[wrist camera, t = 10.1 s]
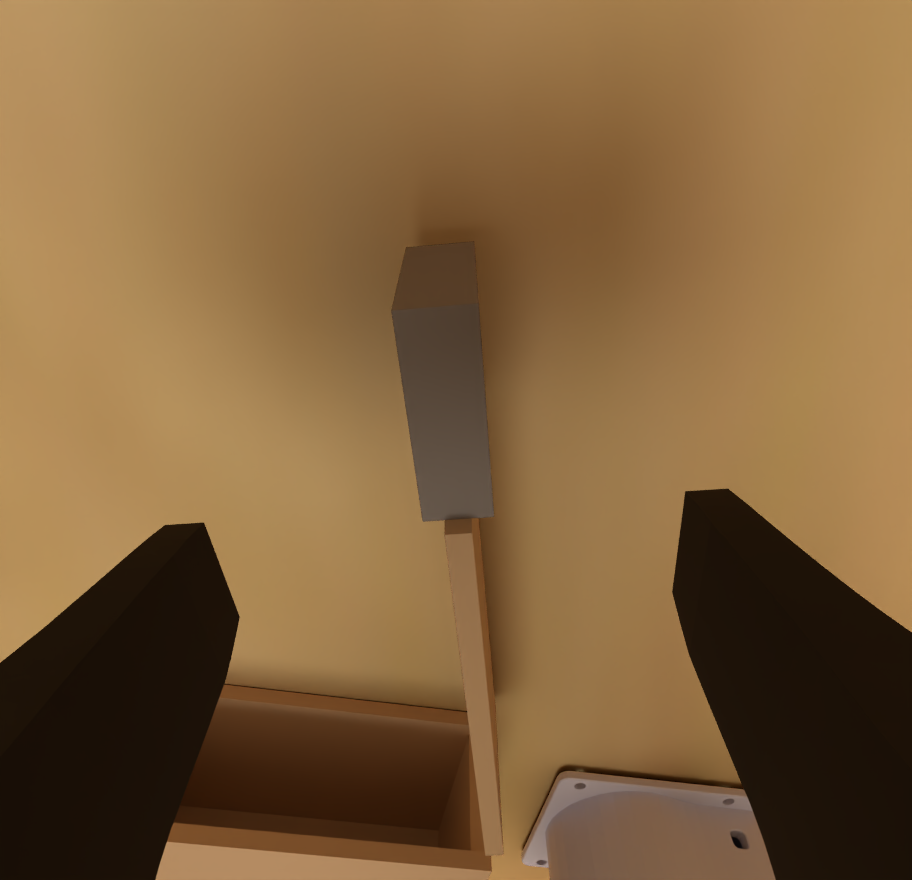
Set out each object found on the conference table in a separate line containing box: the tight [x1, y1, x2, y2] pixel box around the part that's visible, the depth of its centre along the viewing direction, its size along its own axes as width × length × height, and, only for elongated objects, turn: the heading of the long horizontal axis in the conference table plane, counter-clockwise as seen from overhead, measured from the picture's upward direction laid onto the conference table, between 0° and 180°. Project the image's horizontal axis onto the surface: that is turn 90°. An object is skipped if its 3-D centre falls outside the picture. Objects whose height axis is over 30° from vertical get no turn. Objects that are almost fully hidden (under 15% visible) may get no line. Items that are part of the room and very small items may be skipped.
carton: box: [156, 685, 492, 880], centre depth 27 cm, size 14×9×6 cm, turn 80°
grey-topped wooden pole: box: [391, 242, 503, 856], centre depth 19 cm, size 19×2×6 cm, turn 5°
